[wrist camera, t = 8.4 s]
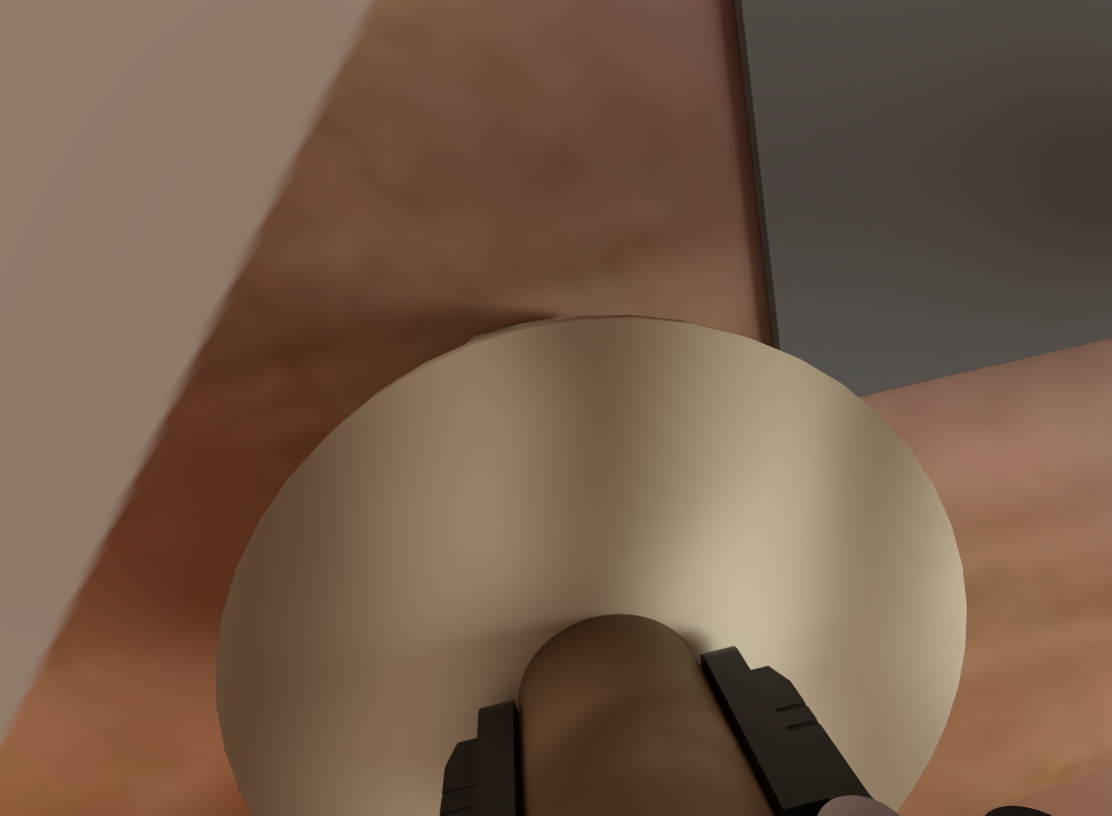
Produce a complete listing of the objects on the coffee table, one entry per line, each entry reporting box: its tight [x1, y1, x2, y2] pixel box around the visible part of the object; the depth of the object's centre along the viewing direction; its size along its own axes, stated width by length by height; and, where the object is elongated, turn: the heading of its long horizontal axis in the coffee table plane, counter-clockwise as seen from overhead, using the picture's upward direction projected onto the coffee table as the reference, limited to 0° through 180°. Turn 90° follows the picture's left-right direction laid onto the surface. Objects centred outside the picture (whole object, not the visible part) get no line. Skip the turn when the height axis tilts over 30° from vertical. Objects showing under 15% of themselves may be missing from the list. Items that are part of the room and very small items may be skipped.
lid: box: [216, 315, 967, 816], centre depth 11 cm, size 16×16×6 cm
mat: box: [734, 0, 1112, 397], centre depth 22 cm, size 18×18×1 cm
